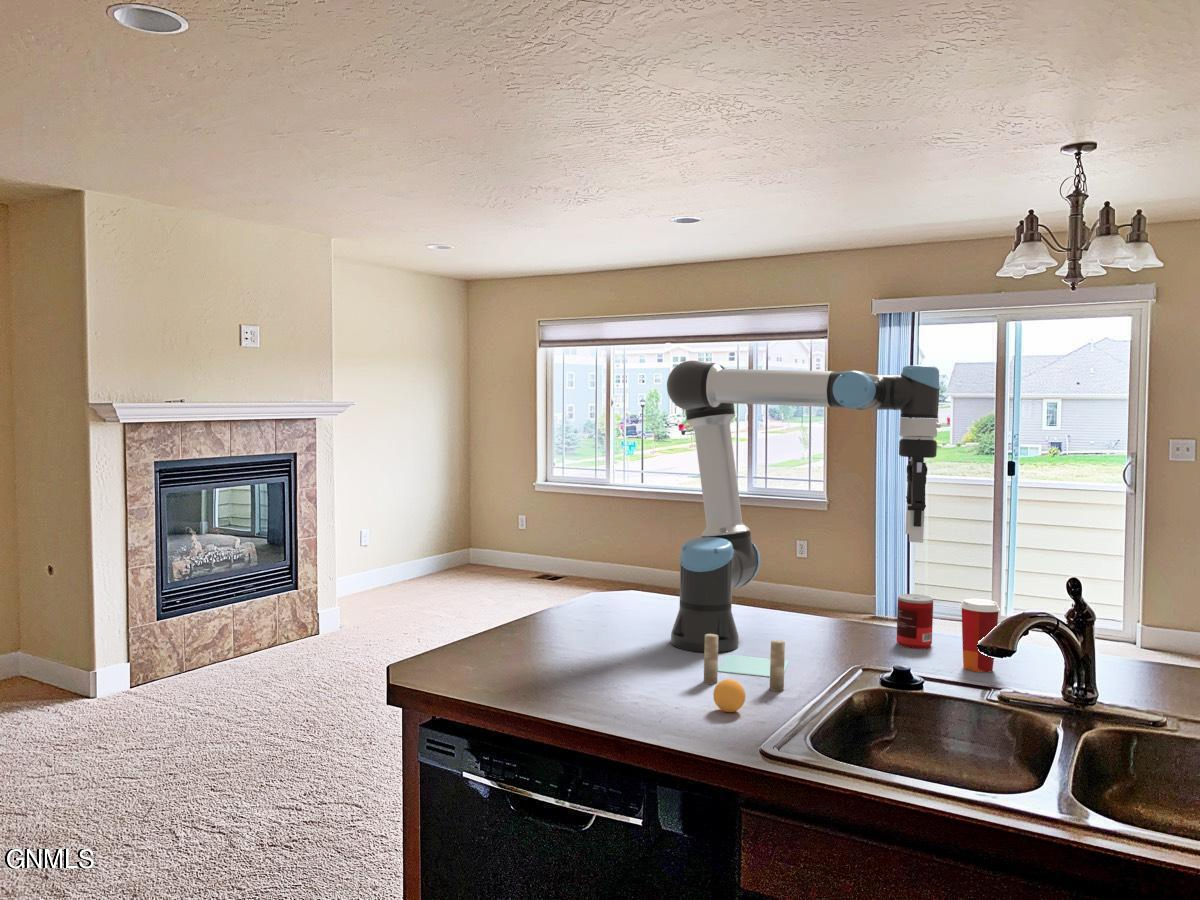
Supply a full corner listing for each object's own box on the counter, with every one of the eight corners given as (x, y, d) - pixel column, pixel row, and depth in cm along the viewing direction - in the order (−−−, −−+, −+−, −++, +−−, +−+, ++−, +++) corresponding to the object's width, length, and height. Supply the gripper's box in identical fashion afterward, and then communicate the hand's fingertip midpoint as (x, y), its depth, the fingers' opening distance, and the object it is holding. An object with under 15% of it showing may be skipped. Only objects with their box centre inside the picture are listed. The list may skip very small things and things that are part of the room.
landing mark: (716, 671, 178) (716, 670, 178) (727, 655, 190) (727, 654, 190) (782, 678, 174) (782, 677, 174) (789, 661, 186) (789, 660, 186)
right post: (768, 690, 166) (770, 642, 166) (770, 686, 168) (771, 639, 168) (782, 691, 165) (784, 644, 165) (784, 687, 168) (785, 640, 167)
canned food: (931, 642, 205) (932, 595, 205) (932, 650, 198) (933, 601, 197) (896, 639, 208) (897, 592, 207) (896, 647, 200) (897, 599, 200)
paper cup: (998, 666, 186) (1000, 600, 185) (997, 675, 179) (1000, 607, 178) (958, 661, 189) (960, 596, 188) (956, 670, 182) (958, 603, 181)
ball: (710, 714, 152) (711, 682, 152) (716, 704, 157) (716, 673, 157) (742, 718, 150) (743, 686, 150) (747, 708, 155) (748, 677, 155)
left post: (702, 682, 170) (703, 636, 169) (705, 679, 172) (706, 633, 172) (715, 684, 169) (717, 637, 169) (718, 680, 171) (719, 634, 171)
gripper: (942, 440, 175) (937, 547, 176) (932, 438, 199) (928, 532, 200) (902, 439, 177) (898, 544, 178) (896, 436, 201) (893, 529, 202)
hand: (913, 538), depth 189 cm, fingers open, 13 cm apart
